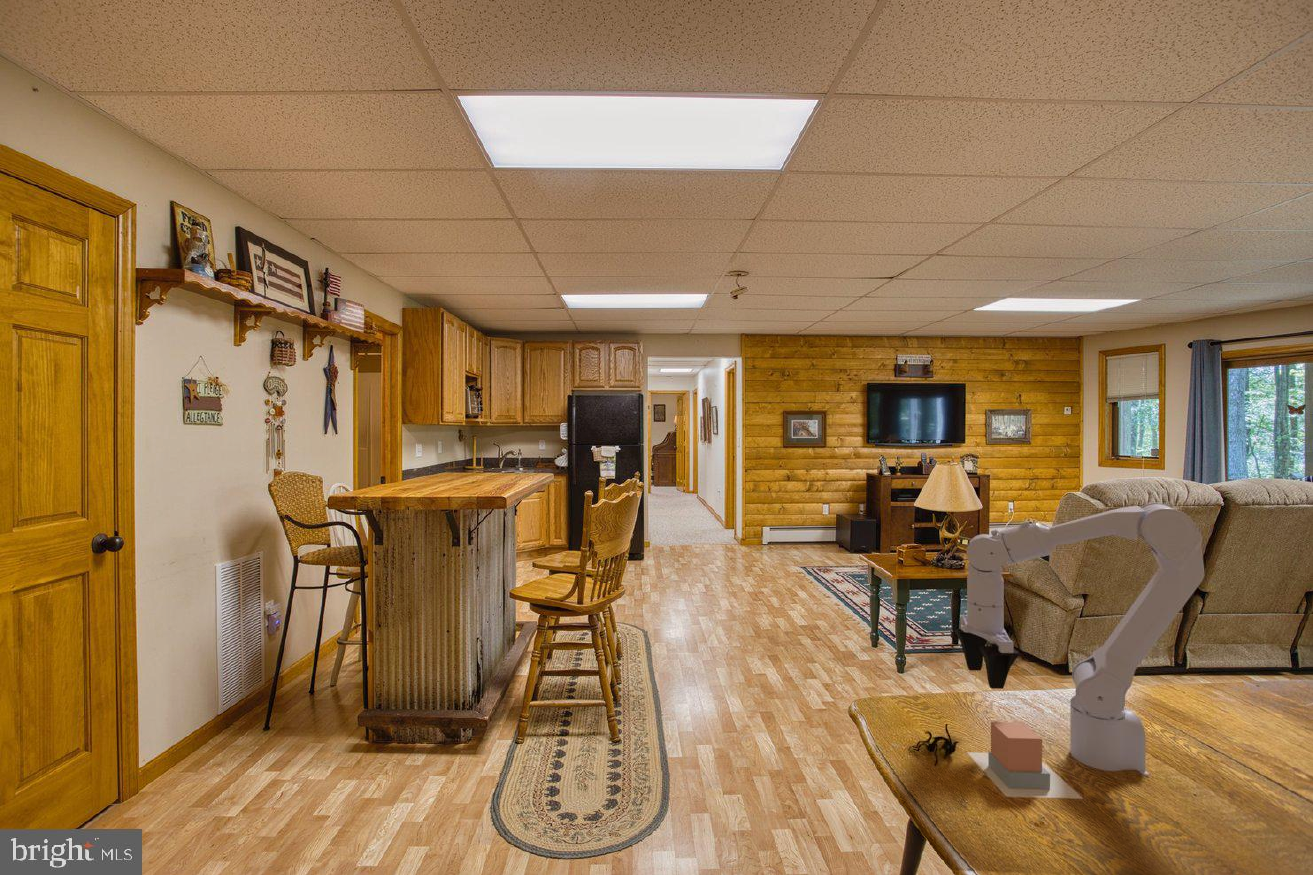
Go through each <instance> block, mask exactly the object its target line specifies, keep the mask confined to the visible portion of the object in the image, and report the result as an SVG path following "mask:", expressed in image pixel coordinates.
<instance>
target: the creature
mask: <svg viewBox="0 0 1313 875" xmlns="http://www.w3.org/2000/svg"><path fill="white" fill-rule="evenodd" d="M922 731H923V732H924V733H925V736H926V737H928V736H929V737H928V738H927V739H926V740H919V741H917V743H916V745H912V746H909V748H908V749H907V751H908V752H909V754H910V753H911V752H912V751H914V752H915V751H916V752H920V749H921V746H925V747H926V749H927V751H928V752H929V753H930V754H931V753H934V757H935V762H934V765H933V766H934V767H935V766H937V765H938V763H939V762H938V761H939V760H938V755H937V752H938V751H941V750H944V756H943V760H946V758H947V757H948V756H951V755H952V754H953V753H955V752H956V747H957V744H960V742H959V741H954V742H952V738H951V735H950V733H949V731H948V723H945V732H946V735H947V737H948V738H947V737H946V736H941V735H940V736H939V735H938V736H935V737H933V735H932V733H931V732H930V731H927V730H923V729H922ZM927 735H928V736H927ZM931 740H932V742H931V743H930V741H931ZM939 741H944V742H943V744H942V746H941V747H940V748H938V742H939ZM927 744H928V745H927ZM911 748H912V749H911Z"/></svg>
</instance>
